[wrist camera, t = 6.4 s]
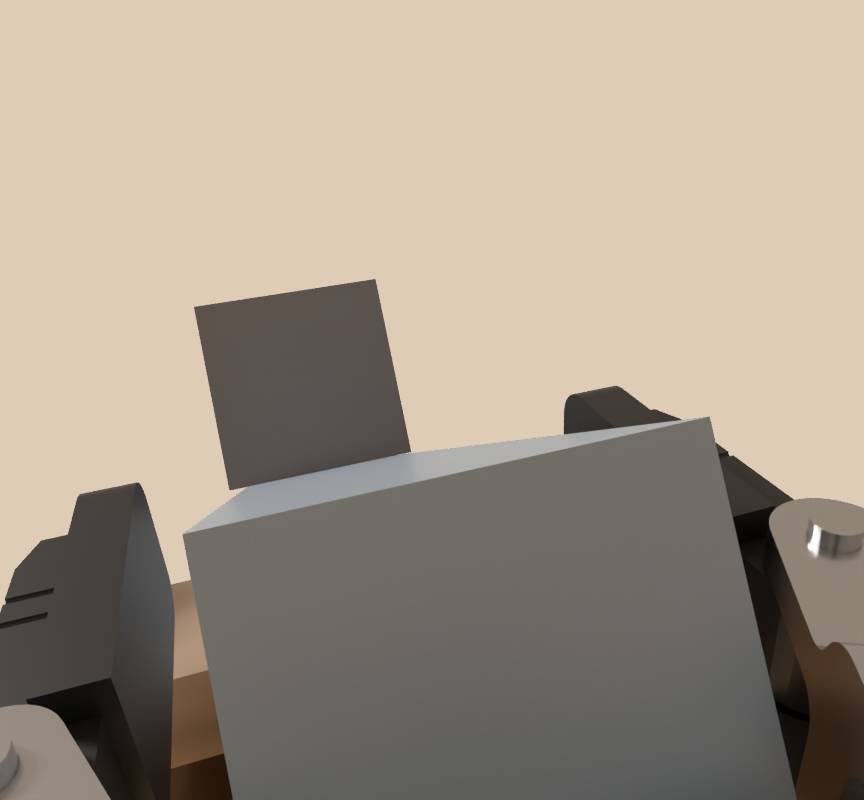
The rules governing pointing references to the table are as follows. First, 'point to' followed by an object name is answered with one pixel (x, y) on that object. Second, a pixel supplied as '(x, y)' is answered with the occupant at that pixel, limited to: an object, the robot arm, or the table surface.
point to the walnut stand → (194, 711)
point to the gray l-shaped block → (463, 591)
